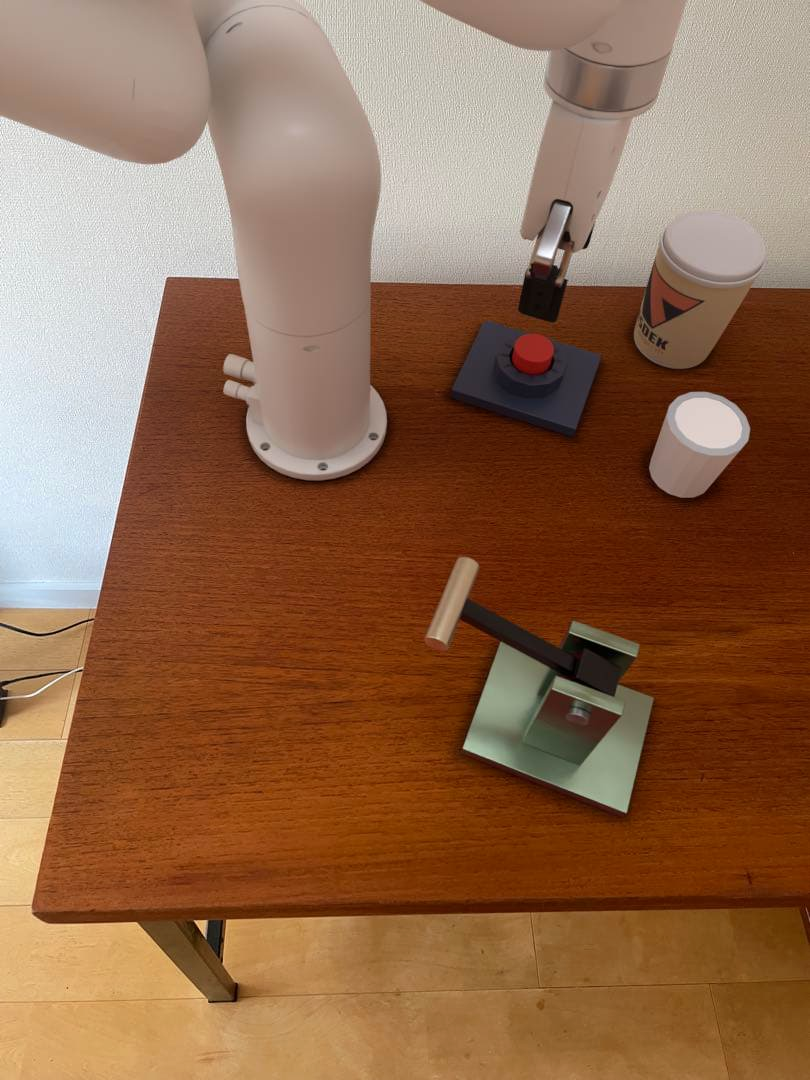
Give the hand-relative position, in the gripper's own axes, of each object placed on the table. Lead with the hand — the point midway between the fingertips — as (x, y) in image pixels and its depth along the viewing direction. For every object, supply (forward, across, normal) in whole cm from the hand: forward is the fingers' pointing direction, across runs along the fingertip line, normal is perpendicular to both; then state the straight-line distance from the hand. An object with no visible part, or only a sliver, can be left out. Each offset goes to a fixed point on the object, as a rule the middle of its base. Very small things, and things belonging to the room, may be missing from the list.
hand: (554, 278), depth 66 cm
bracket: (+12, +32, +12) cm, 36 cm away
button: (+10, 0, 0) cm, 10 cm away
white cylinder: (+13, +5, +16) cm, 21 cm away
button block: (+12, 0, 0) cm, 12 cm away
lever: (+2, +32, +7) cm, 33 cm away
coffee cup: (+13, -11, +12) cm, 20 cm away
